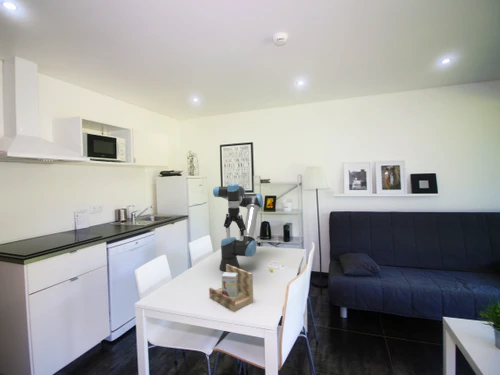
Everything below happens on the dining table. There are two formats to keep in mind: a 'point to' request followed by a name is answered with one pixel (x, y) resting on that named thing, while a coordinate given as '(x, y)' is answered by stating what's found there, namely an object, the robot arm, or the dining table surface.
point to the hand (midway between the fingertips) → (234, 239)
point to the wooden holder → (243, 290)
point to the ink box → (230, 284)
